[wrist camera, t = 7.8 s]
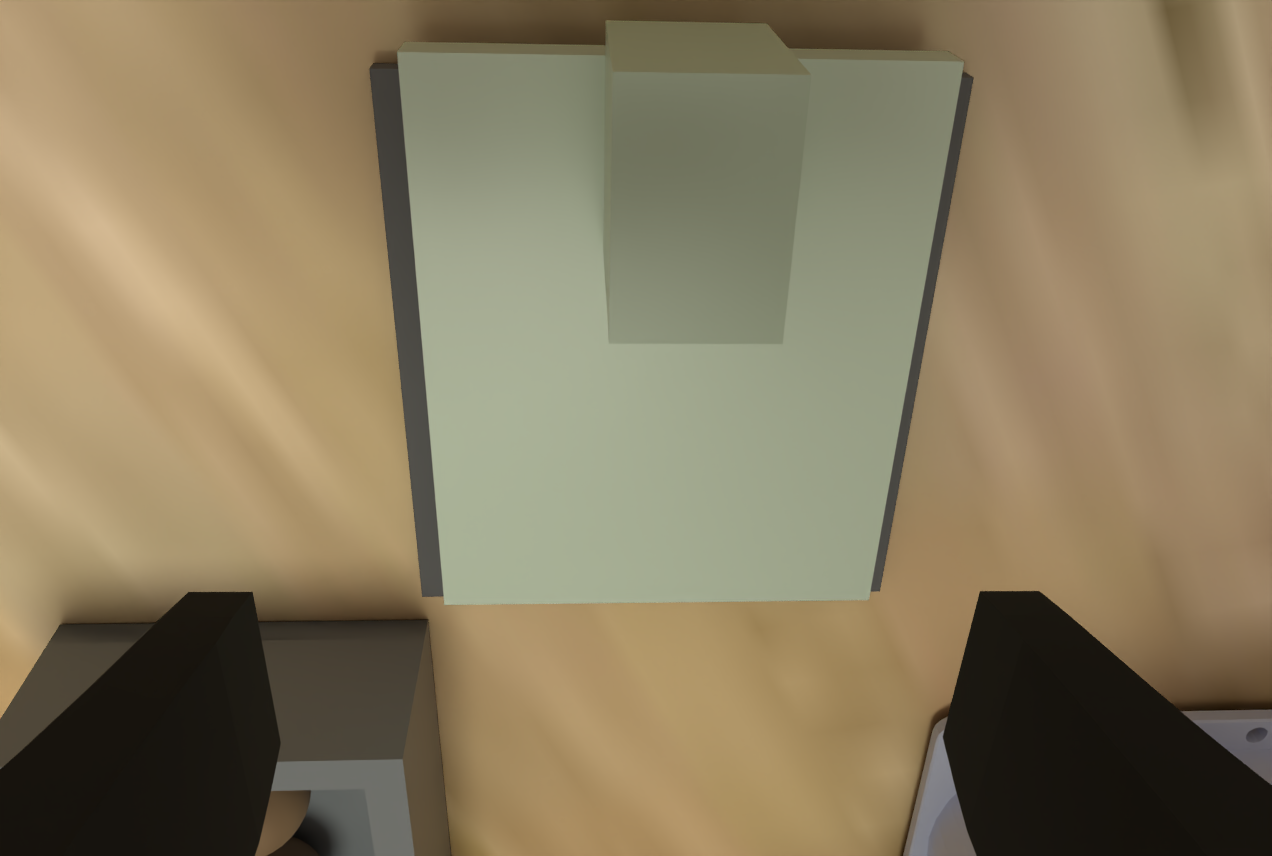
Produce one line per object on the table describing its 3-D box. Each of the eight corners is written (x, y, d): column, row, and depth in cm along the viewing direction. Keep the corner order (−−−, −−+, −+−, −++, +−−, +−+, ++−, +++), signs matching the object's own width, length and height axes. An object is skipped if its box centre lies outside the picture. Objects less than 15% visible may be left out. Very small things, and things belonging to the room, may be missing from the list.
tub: (428, 620, 24) (402, 759, 20) (455, 902, 29) (439, 1052, 25) (60, 624, 23) (-31, 767, 20) (154, 910, 28) (95, 1064, 25)
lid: (942, 11, 17) (1062, 79, 13) (853, 558, 23) (916, 729, 18) (407, 1, 17) (349, 66, 12) (451, 561, 22) (422, 738, 18)
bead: (314, 700, 24) (285, 800, 21) (330, 785, 25) (303, 889, 23) (188, 702, 24) (144, 804, 21) (210, 788, 25) (171, 892, 23)
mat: (965, 72, 18) (973, 78, 18) (875, 579, 24) (879, 591, 23) (373, 63, 17) (369, 68, 17) (424, 585, 23) (422, 596, 23)
